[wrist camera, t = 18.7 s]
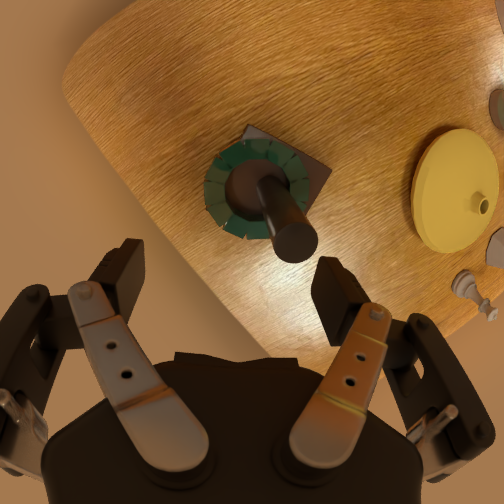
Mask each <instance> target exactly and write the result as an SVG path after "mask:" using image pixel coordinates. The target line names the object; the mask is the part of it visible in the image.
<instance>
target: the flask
mask: <svg viewBox="0 0 504 504" xmlns="http://www.w3.org/2000/svg"><path fill="white" fill-rule="evenodd" d="M486 254H487V260H486V264H487V265H490V266H494V267H498V268H502V269H504V228H501V229H500V230H499V231H497V232H496V233H495V234H494V235H493V236H492V238H491V241H490V244H489V246H488V249H487V252H486Z"/></svg>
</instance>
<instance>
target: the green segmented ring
mask: <svg viewBox="0 0 504 504" xmlns="http://www.w3.org/2000/svg"><path fill="white" fill-rule="evenodd" d="M257 159H266V160H268V161H270V162H272V163H274V164H276V165H277V166H279V167H280V168H281V170H282V172H283V173H284V175H285V177H286V189H287V190H288V191H289V193H290V194H291V196H292V197H293V199H294V200H295V201H296V203H297V204H298V206H299V207H300V209H301V210H302V212H303V211H304V210H305V208H306V206H307V204H306V203H305V202H304V201H309V185H310V179H309V178H308V177H307V176H308V175H309V174H308V172H307V171H306V169H305V167H304V165H303V163H302V161H301V160H300V158H299V156H298V155H297V154H295V152H294V151H293V150H291V149H290V148H288V147H286V146H285V145H283V144H281V143H279V142H278V141H276V140H274V139H272V138H271V139H269V138H267V137H244V138H243V143H242V142H241V140H240V139H238V140H236V141H234V142H233V143H231V144H229V145H228V146H226V147H225V148H223V149H221V150H220V151H219V155H218V154H216V155H215V157H214V159H213V161H212V163H211V165H210V167H209V169H208V171H207V173H206V175H205V180H204V197H205V205H207V210H208V212H209V213H210V214H211V216H212V217H213V219H214V220H215V221H216V223H217V224H218V226H219V227H221V226H222V225H223V230H225V231H227V232H229V233H231V234H233V235H235V236H238V237H240V238H242V239H243V238H244V236H245V235H246V238H247V240H250V239H269V232H268V229H267V226H266V222H265V219H264V216H263V214H262V215H247V214H245V213H243V212H241V211H239V210H237V209H235V208H234V207H233V205H232V204H231V202H230V201H229V199H228V198H227V196H226V190H225V183H226V181H227V179H228V177H229V175H230V173H231V172H232V170H233V169H234V168H235V167H237V166H239V165H240V164H242V163H244V162H245V161H247V160H257Z"/></svg>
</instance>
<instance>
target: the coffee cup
mask: <svg viewBox="0 0 504 504" xmlns="http://www.w3.org/2000/svg"><path fill="white" fill-rule="evenodd" d="M489 108H490V114H491V118H492V120H493V122H494V124H495V125H496V126H497V127H498V128H499V129H502V130H504V90H495V91H493V93H492V94H491V96H490V102H489Z"/></svg>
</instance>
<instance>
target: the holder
mask: <svg viewBox="0 0 504 504" xmlns="http://www.w3.org/2000/svg"><path fill="white" fill-rule="evenodd" d="M244 137H267V138H269V139H271V138H272V139H274V140H276V141H278V142H279V143H281V144H283V145H285V146H286V147H288V148H290V149H291V150H293V151H294V152H295V154H297V155H298V156H299V158H300V160H301V161H302V163H303V165H304V167H305V169H306V171H307V172H308V174H309V175H308V176H307V177H308V178H309V179H310V185H309V201H304V202H305V203H306V204H307V206H306V208H305V210H304V211H303V212H302V210H301V209H300V207H299V206H298V204H297V203H296V201H295V200H294V199H293V197H292V196H291V194H290V193H289V191H288V190H287V189H286V177H285V175H284V173H283V172H282V170H281V168H280V167H279V166H277V165H276V164H274V163H272V162H270V161H268V160H266V159H257V160H247V161H245V162H244V163H242V164H240V165H239V166H237V167H235V168H234V169H233V170H232V172H231V173H230V175H229V177H228V179H227V181H226V183H225V190H226V196H227V198H228V199H229V201H230V202H231V204H232V205H233V207H234V208H235V209H237V210H239V211H241V212H243V213H245V214H247V215H262V214H263V216H264V219H265V222H266V226H267V229H268V232H269V238H270V239H271V242H272V245H273V248H274V251H275V253H276V255H277V256H278V257H279V258H280V259H281V260H283V261H285V262H287V263H300V262H303V261H305V260H307V259H309V258H310V257H311V256H312V255H313V254H314V252H315V251H316V248H317V245H318V236H317V233H316V231H315V229H314V228H313V226H312V225H311V223H310V222H309V220H308V219H307V217H306V214H307V212H308V211H309V209H310V207H311V206H312V204H313V202H314V201H315V199H316V197H317V196H318V194H319V192H320V191H321V189H322V187H323V186H324V184H325V182H326V181H327V179H328V177H329V176H330V174H331V172H332V169H330V168H329V167H327V166H325V165H324V164H322V163H320V162H319V161H317V160H315V159H313V158H312V157H310V156H308V155H306V154H305V153H303V152H301V151H299V150H298V149H296V148H294V147H292V146H290V145H289V144H287V143H285V142H283V141H281V140H279V139H277V138H276V137H274V136H272V135H270V134H268V133H266V132H264V131H262V130H260V129H258V128H256V127H254V126H252V125H250V124H247V126H246V128H245V130H244V132H243V134H242V135H241V137H240V140H241V142H242V143H243V138H244ZM206 210H207V205H206ZM207 211H208V210H207Z"/></svg>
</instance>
